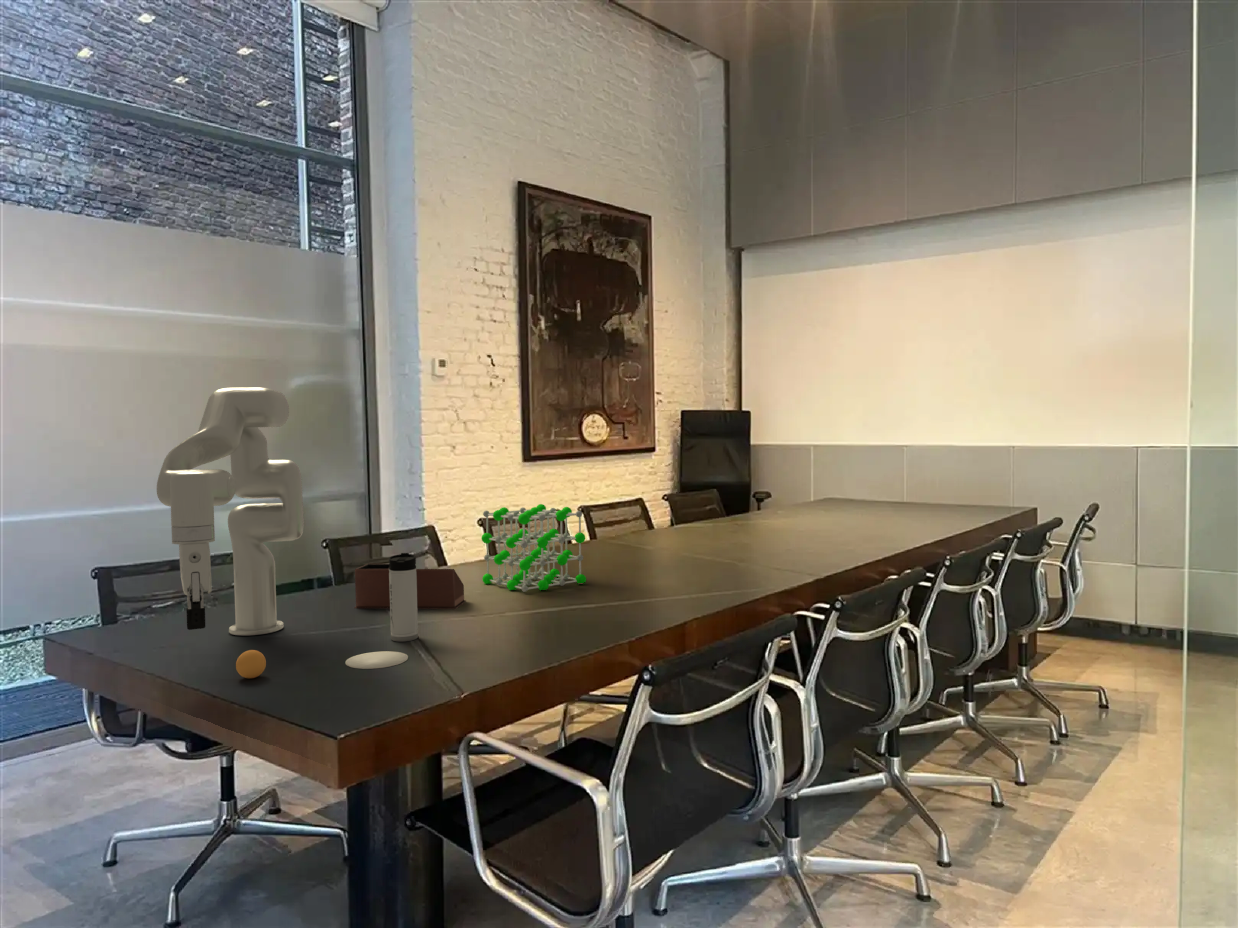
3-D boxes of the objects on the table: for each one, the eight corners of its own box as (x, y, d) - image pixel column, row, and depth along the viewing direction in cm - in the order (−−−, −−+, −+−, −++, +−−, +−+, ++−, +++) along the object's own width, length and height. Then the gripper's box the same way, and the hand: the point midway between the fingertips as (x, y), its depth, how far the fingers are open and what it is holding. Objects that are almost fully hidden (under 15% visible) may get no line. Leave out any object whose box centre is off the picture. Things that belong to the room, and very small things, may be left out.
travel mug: (420, 634, 207) (418, 552, 207) (415, 641, 201) (412, 556, 200) (394, 635, 207) (392, 552, 206) (388, 642, 201) (385, 557, 200)
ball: (235, 676, 175) (234, 649, 174) (264, 672, 177) (264, 645, 177) (237, 683, 170) (236, 655, 169) (267, 679, 172) (266, 651, 172)
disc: (340, 657, 188) (340, 656, 188) (399, 649, 194) (399, 648, 194) (352, 672, 176) (351, 671, 176) (414, 662, 183) (414, 662, 183)
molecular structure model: (543, 574, 289) (542, 503, 288) (588, 584, 269) (587, 508, 268) (480, 584, 273) (478, 508, 272) (523, 595, 254) (522, 514, 253)
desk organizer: (367, 601, 250) (366, 563, 249) (466, 602, 247) (465, 563, 246) (353, 609, 239) (352, 569, 239) (456, 609, 237) (455, 569, 236)
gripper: (216, 536, 163) (219, 633, 163) (212, 530, 176) (215, 619, 176) (172, 539, 159) (175, 638, 160) (171, 532, 172) (174, 623, 173)
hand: (196, 628), depth 168 cm, fingers closed
